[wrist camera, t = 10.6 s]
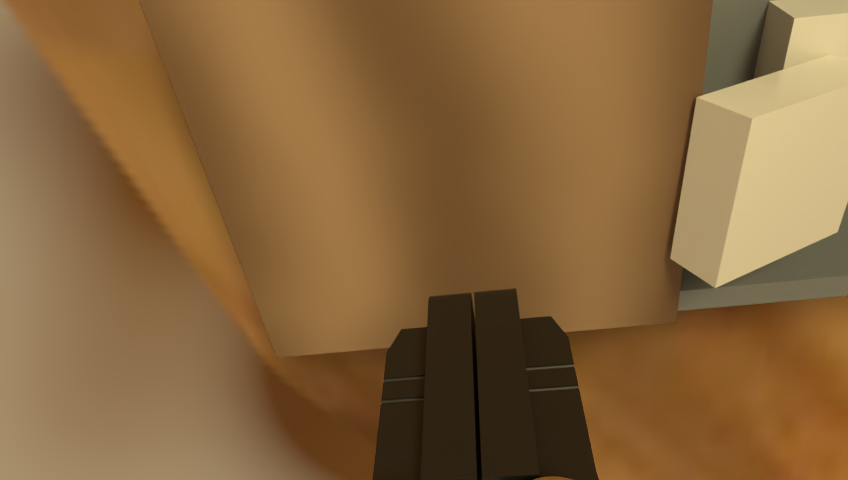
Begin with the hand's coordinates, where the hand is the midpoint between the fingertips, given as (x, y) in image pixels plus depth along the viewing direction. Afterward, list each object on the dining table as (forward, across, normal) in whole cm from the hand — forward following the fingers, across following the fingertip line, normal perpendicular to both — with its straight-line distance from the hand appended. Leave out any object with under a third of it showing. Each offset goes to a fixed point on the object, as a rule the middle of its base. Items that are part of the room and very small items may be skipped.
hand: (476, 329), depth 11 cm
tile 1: (+7, -7, +1) cm, 10 cm away
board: (+10, +1, 0) cm, 10 cm away
